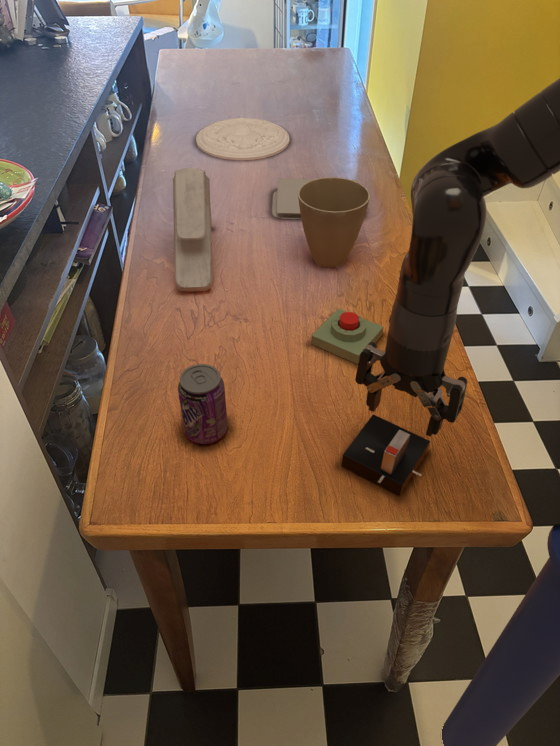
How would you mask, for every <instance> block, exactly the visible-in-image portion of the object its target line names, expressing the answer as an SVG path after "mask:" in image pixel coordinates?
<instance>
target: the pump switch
mask: <svg viewBox="0 0 560 746" xmlns="http://www.w3.org/2000/svg"><path fill="white" fill-rule="evenodd" d="M345 312H347V311H346V310H343V309H341V308H337V309H336V310H335V311H333V313H332V314H331V315H330V316H329V317H328V318H327V319H326V320H325V321H324V322H323V323H322V324H321V325H320V327H318V328H317V330H316V331H315V332H313V334H312V335H311V345H312V346H315V347H317V348H319V349H322V350H324V351H327V352H329V353H330V354H333V355H335V356H338V357H339V358H342V359H345V360H347V361H349V362H351V363H354V364H356V365H358V363H359V358H360V354H361V352H362V351H363V349H364V348H365V347H366V346H367V345H368V344H369V342H374V343H375V344H377V342H378V341H379V339H381V338H382V336H383V332H384V325H381V324H378V323H375V322H373V321H371V320H368V319H365V318H364V317H362V316H361V315H360V314H357V315H358V316H359V325H358V328H357V329H356V330H353V331H346V330H344V329H341V328H340V326H339V321H340V315H341V314H342V313H345Z"/></svg>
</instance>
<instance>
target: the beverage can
mask: <svg viewBox="0 0 560 746" xmlns="http://www.w3.org/2000/svg"><path fill="white" fill-rule="evenodd" d="M177 394H178V399H179V406H180V413H181V421H182V425H183V432H184V435H185V436H186V437H187V438H188V440H190V441H191V442H193V443H195V444H201V445H207V444H213V443H215V442H218V441H220V440H221V439H222V438H223V437H224V436H225V435H226V433H227V431H228V412H227V401H226V388H225V381H224V379H223V377H222V376H221V373H220V370H218V369H217V367H215V366H213V365H211V364H206V363H197V364H193V365H190V366H188V367H186V368H184V369H183V371H182V372H181V373H180V376H179V382H178V385H177Z"/></svg>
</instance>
